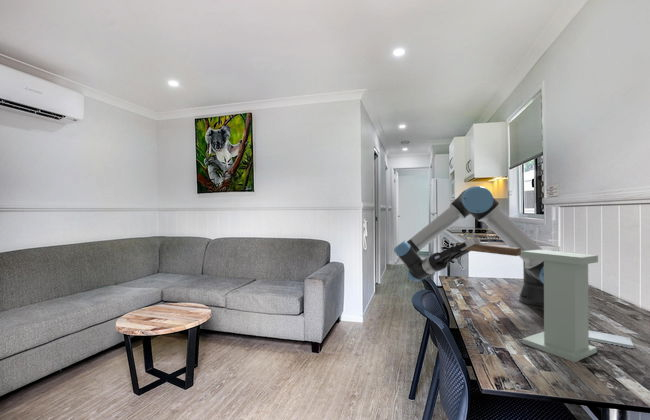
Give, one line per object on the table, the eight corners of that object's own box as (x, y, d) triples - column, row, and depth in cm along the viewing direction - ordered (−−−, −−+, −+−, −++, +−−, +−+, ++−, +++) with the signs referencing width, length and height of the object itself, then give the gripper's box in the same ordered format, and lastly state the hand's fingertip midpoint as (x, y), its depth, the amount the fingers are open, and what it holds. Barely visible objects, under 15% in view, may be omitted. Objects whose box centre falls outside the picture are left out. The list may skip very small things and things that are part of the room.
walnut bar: (460, 248, 127) (460, 242, 127) (521, 255, 106) (520, 248, 106) (455, 249, 125) (455, 243, 125) (515, 256, 104) (515, 248, 104)
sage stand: (541, 334, 104) (541, 249, 104) (601, 353, 90) (600, 255, 90) (519, 342, 98) (518, 251, 98) (579, 363, 84) (578, 257, 84)
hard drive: (629, 337, 100) (580, 327, 108) (633, 345, 93) (580, 335, 101) (629, 342, 100) (580, 332, 108) (633, 351, 93) (580, 340, 101)
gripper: (450, 269, 139) (493, 248, 121) (424, 272, 131) (466, 250, 113) (444, 254, 142) (484, 231, 124) (418, 256, 134) (458, 232, 117)
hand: (476, 240), depth 119 cm, fingers closed on walnut bar, 3 cm apart
